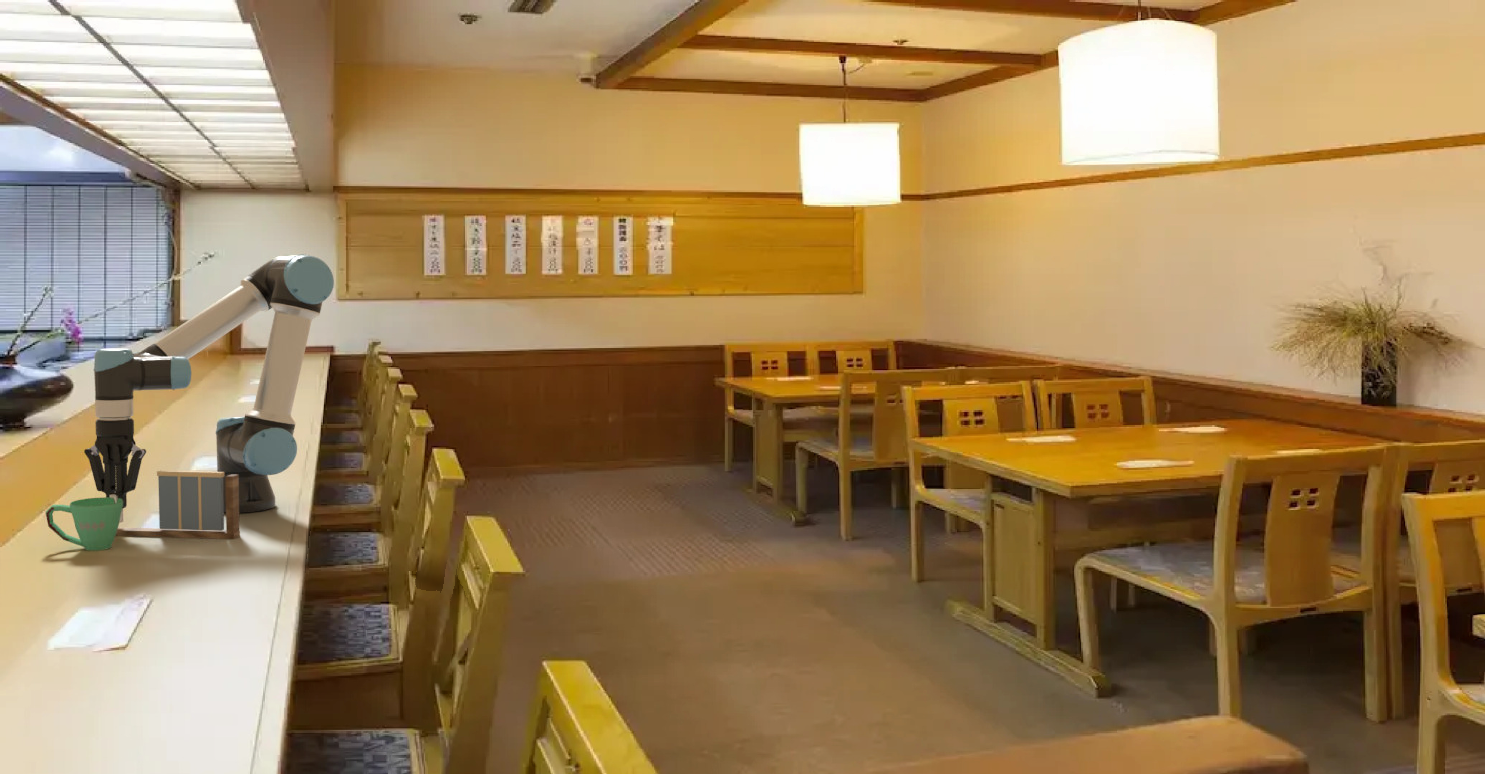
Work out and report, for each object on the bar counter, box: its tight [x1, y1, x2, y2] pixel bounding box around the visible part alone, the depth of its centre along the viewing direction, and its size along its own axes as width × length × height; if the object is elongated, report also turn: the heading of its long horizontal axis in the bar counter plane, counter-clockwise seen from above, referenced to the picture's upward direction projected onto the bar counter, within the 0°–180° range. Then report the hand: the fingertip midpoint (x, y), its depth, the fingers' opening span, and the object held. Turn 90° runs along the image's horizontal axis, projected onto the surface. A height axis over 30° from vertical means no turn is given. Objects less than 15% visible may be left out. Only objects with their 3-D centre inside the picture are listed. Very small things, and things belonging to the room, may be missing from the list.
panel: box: [156, 469, 225, 531], centre depth 259 cm, size 14×2×13 cm, turn 88°
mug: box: [45, 496, 123, 552], centre depth 245 cm, size 15×10×10 cm
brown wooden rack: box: [115, 474, 241, 540], centre depth 259 cm, size 31×3×14 cm, turn 88°
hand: (116, 522), depth 260 cm, fingers closed
